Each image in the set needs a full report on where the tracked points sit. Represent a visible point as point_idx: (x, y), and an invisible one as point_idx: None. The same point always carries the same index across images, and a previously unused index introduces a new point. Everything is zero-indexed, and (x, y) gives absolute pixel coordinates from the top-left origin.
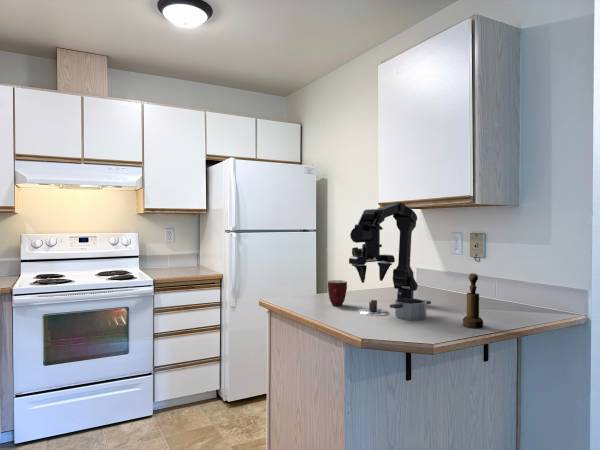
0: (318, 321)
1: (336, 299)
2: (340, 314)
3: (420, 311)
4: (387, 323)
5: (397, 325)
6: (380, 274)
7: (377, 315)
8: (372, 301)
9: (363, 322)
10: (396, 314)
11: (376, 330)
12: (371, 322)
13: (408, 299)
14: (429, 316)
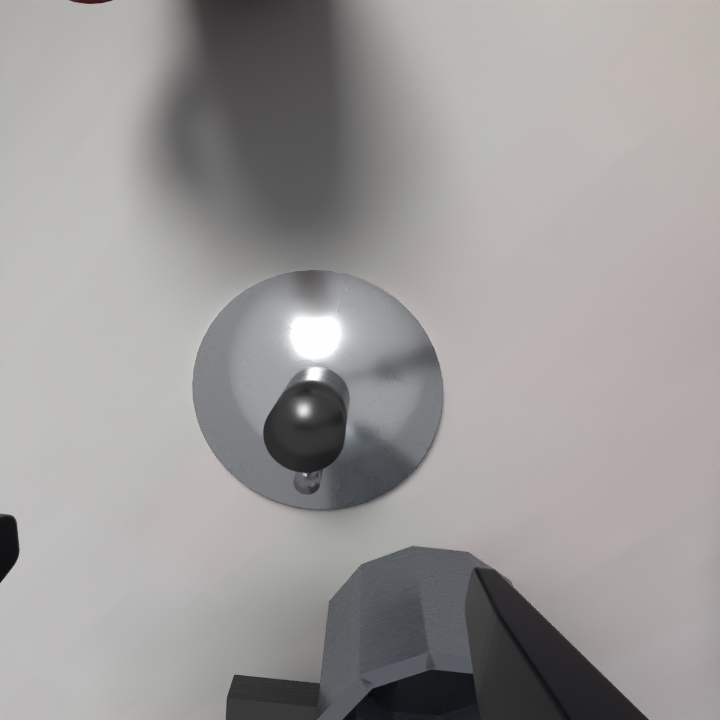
0: None
1: (89, 2)
2: (32, 295)
3: None
4: (166, 651)
5: (184, 705)
6: (522, 703)
7: (262, 490)
8: (271, 454)
9: (45, 561)
10: (338, 604)
11: (3, 707)
12: (93, 587)
13: None
14: None
